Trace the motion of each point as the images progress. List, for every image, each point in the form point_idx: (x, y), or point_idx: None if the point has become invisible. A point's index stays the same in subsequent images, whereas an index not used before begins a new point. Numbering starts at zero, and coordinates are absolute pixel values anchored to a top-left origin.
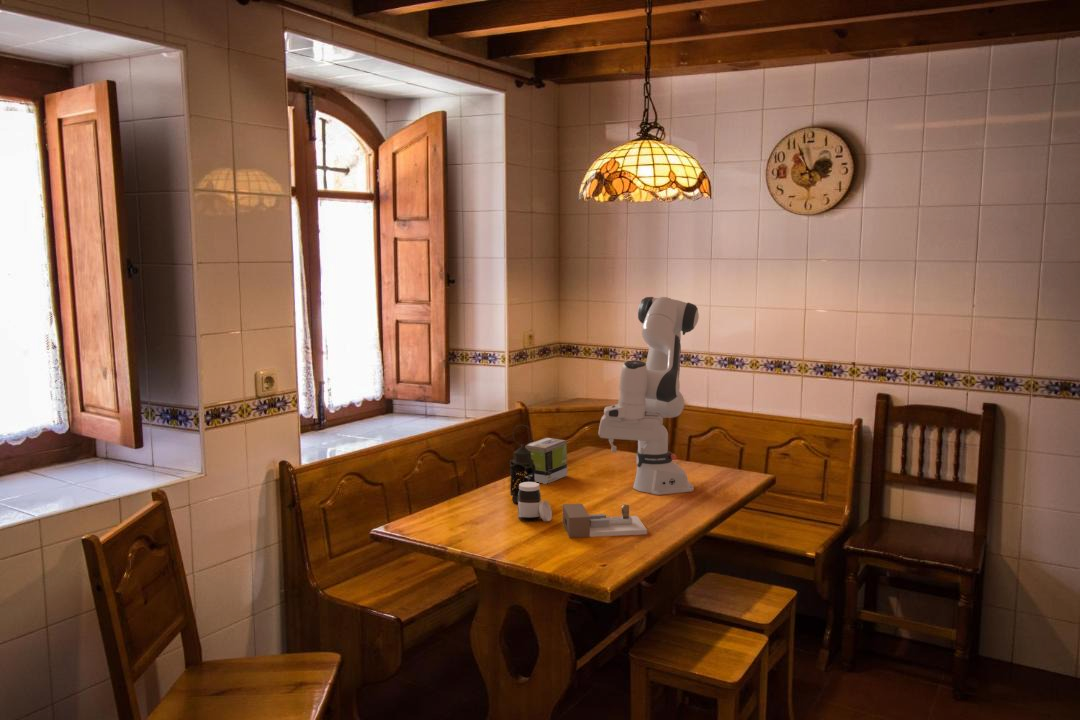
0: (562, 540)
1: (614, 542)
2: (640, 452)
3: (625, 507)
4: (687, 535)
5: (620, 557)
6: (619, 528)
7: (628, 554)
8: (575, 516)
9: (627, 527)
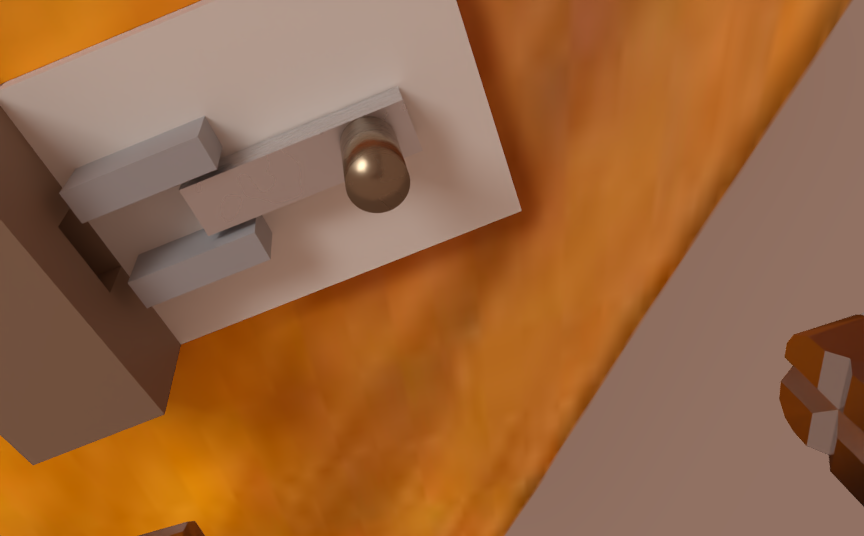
0: None
1: (347, 358)
2: (798, 350)
3: (382, 211)
4: (747, 151)
5: (409, 493)
6: (345, 235)
7: (439, 459)
8: (60, 433)
9: None
